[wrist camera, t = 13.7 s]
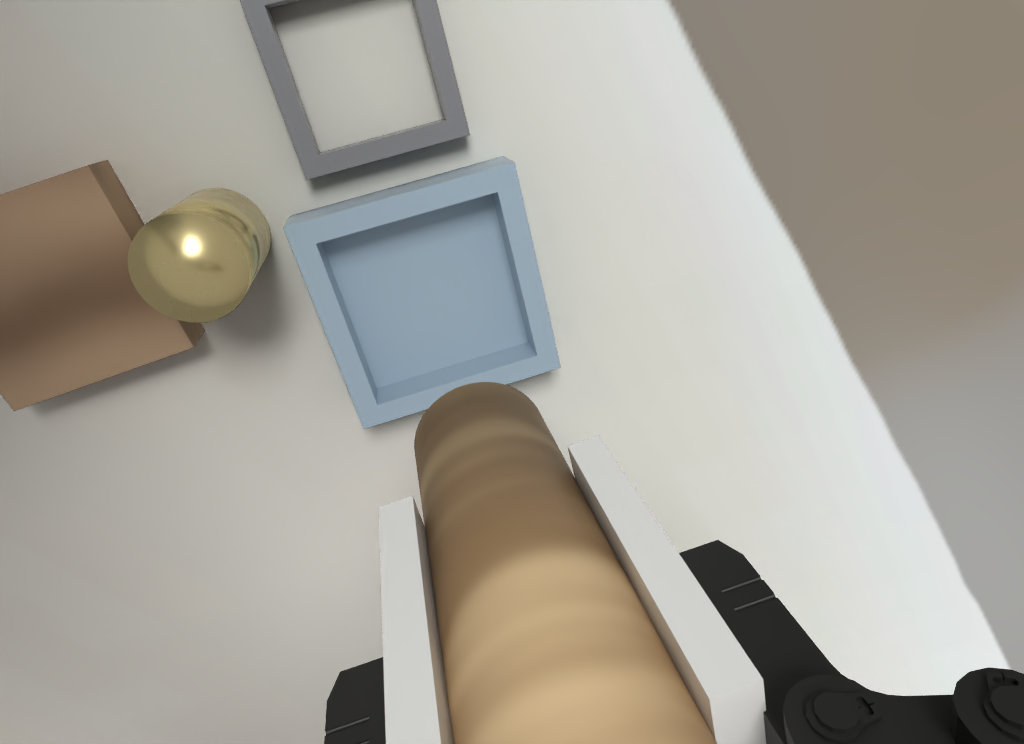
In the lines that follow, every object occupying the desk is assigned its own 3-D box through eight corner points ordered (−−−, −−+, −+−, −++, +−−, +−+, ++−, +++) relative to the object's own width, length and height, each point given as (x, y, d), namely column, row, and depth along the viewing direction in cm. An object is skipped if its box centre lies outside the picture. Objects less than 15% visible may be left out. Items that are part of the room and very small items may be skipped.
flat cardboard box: (-78, 222, 26) (-120, 235, 24) (111, 158, 27) (87, 165, 25) (40, 386, 30) (13, 411, 28) (206, 328, 30) (193, 347, 28)
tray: (289, 216, 29) (283, 227, 26) (503, 156, 30) (514, 162, 27) (363, 405, 33) (363, 428, 31) (547, 348, 34) (560, 367, 32)
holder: (240, -10, 25) (234, -14, 24) (418, -54, 26) (421, -60, 25) (308, 176, 28) (306, 179, 27) (465, 132, 29) (469, 134, 28)
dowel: (397, 405, 17) (488, 1371, 4) (529, 365, 17) (990, 1145, 4) (435, 513, 18) (588, 1454, 6) (556, 474, 19) (954, 1286, 6)
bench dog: (156, 202, 27) (105, 231, 22) (248, 177, 28) (221, 199, 22) (198, 289, 29) (160, 335, 24) (284, 264, 29) (266, 304, 24)
